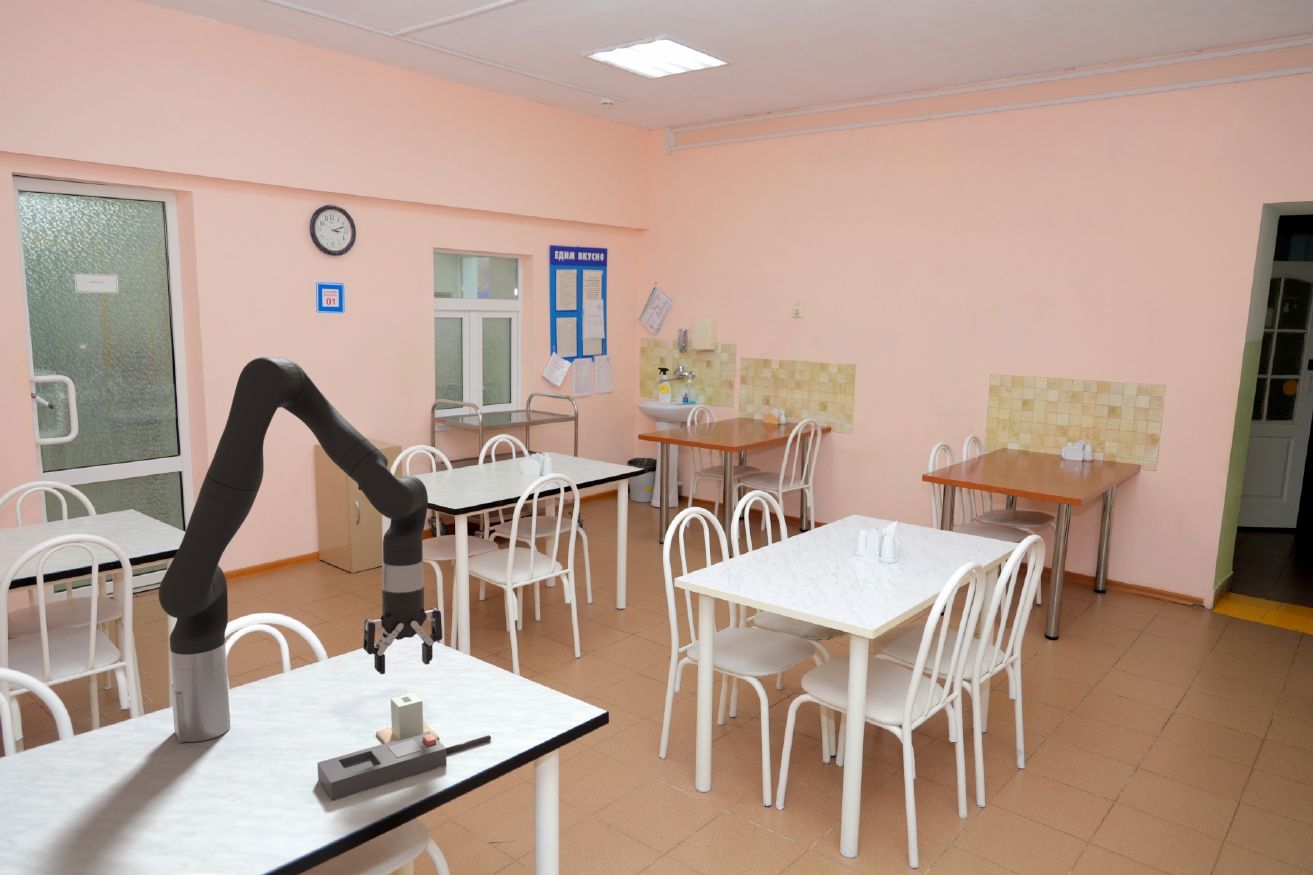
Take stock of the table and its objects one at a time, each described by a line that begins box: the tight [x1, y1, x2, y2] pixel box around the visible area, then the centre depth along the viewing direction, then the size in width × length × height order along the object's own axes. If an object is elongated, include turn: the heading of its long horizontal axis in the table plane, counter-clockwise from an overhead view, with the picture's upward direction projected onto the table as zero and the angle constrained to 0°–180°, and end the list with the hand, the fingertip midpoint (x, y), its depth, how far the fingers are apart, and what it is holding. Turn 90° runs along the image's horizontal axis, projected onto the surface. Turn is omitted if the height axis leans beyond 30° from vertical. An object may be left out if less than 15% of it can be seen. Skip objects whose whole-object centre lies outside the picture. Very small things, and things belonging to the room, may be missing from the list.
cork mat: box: [375, 720, 440, 744], centre depth 165 cm, size 9×9×1 cm
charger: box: [390, 692, 424, 740], centre depth 164 cm, size 4×4×7 cm
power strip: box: [317, 731, 492, 802], centre depth 155 cm, size 30×8×4 cm, turn 126°
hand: (403, 667), depth 163 cm, fingers open, 8 cm apart
